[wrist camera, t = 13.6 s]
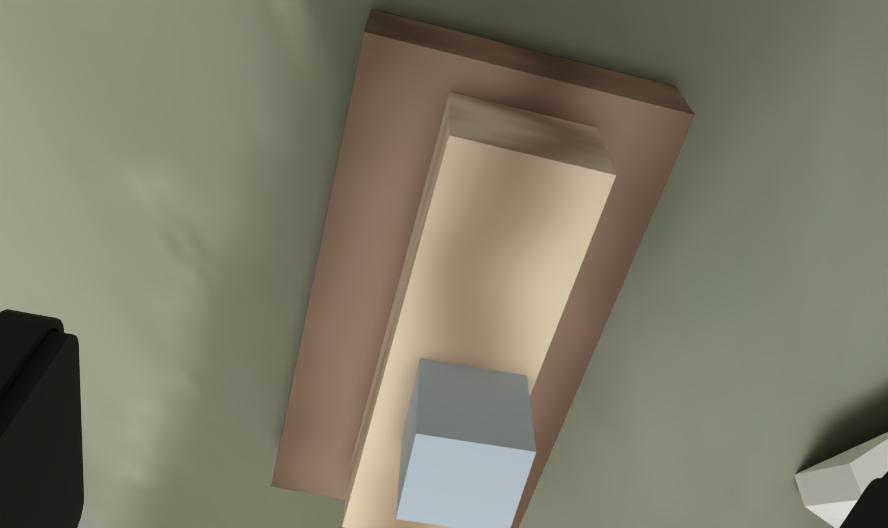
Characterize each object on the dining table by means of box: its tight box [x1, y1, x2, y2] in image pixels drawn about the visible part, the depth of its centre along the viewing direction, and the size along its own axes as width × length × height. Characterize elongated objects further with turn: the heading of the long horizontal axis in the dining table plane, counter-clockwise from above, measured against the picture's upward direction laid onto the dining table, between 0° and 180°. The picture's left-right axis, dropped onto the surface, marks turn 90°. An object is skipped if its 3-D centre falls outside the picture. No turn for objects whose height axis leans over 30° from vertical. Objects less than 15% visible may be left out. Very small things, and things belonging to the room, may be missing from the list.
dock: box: [271, 9, 695, 528], centre depth 36 cm, size 12×22×3 cm, turn 166°
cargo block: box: [396, 358, 536, 528], centre depth 30 cm, size 4×4×4 cm
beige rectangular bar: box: [342, 92, 616, 528], centre depth 33 cm, size 6×18×4 cm, turn 166°
